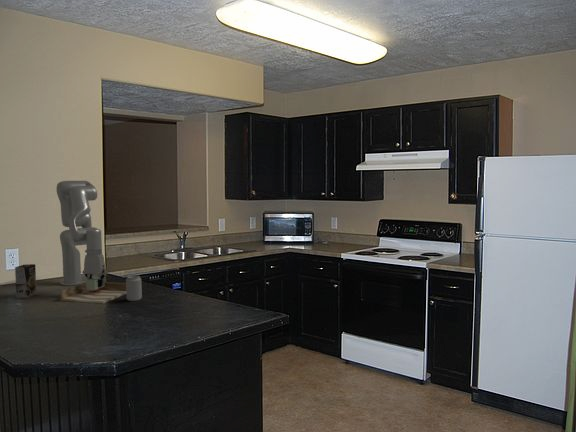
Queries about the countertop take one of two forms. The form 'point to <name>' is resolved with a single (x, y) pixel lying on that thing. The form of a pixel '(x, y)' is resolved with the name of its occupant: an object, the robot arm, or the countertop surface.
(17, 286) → the coffee box
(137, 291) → the can
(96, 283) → the block
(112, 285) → the corner guide
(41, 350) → the countertop surface
